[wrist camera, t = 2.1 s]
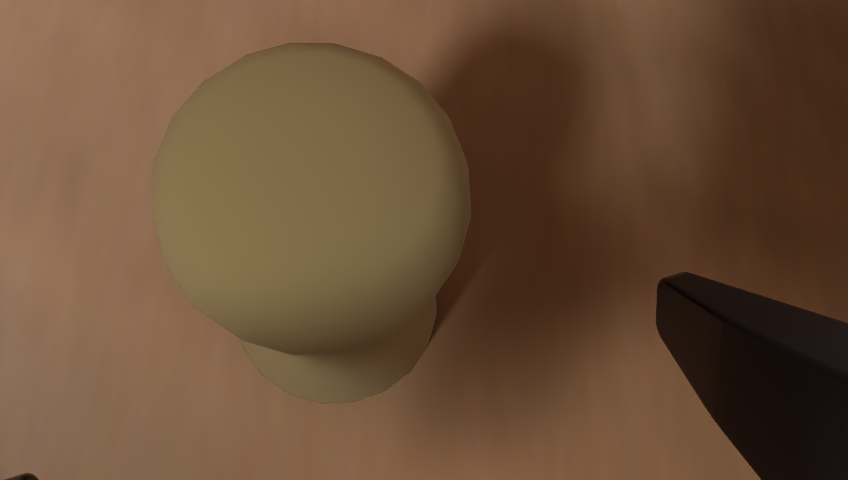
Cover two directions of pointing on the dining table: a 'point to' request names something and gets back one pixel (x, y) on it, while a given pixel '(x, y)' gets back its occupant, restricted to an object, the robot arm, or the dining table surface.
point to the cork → (314, 214)
